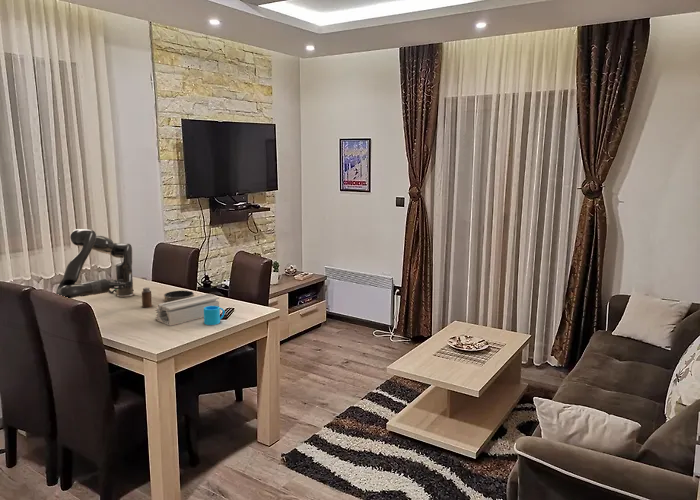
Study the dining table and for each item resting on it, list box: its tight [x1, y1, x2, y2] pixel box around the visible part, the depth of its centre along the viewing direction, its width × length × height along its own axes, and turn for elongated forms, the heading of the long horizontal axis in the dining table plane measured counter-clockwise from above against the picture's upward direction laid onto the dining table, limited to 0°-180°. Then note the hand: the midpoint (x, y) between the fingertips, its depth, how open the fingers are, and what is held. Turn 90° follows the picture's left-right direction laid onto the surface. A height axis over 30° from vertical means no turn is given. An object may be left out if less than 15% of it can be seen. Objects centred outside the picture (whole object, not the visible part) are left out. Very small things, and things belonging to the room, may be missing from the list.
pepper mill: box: [141, 287, 153, 309], centre depth 293 cm, size 5×5×11 cm
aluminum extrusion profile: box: [154, 293, 220, 327], centre depth 276 cm, size 14×31×10 cm, turn 140°
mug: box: [203, 305, 226, 326], centre depth 268 cm, size 12×8×8 cm
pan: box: [163, 290, 195, 303], centre depth 309 cm, size 17×17×4 cm
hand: (127, 282), depth 282 cm, fingers open, 8 cm apart
